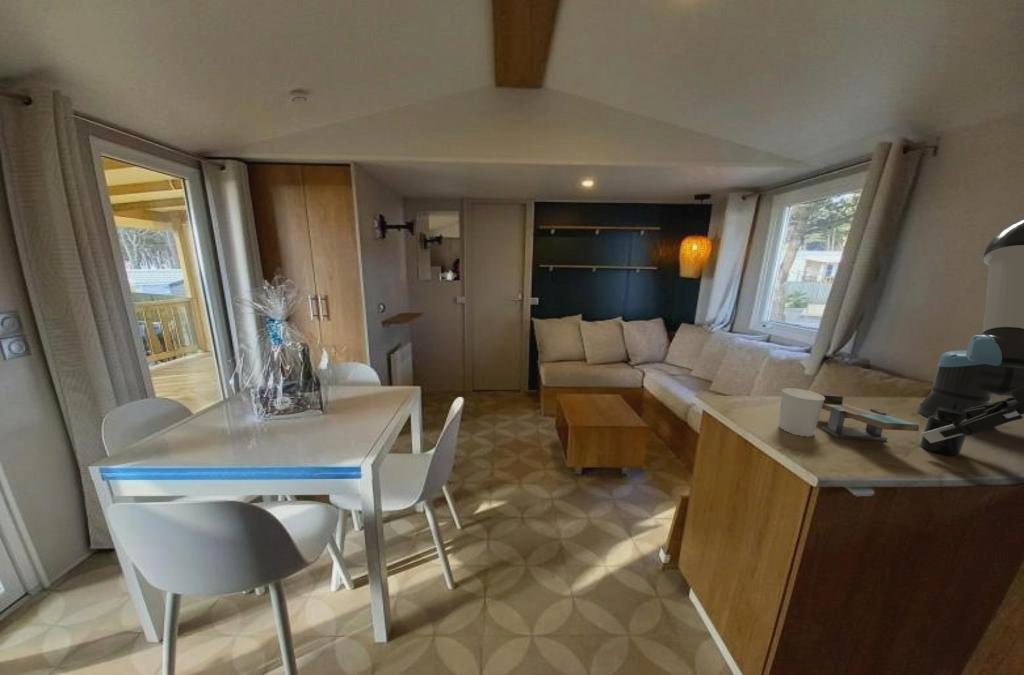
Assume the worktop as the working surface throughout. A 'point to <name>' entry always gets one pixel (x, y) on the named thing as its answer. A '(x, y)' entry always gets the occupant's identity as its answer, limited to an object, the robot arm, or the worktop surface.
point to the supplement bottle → (941, 420)
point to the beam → (867, 415)
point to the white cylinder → (800, 411)
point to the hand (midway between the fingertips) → (929, 431)
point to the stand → (842, 432)
